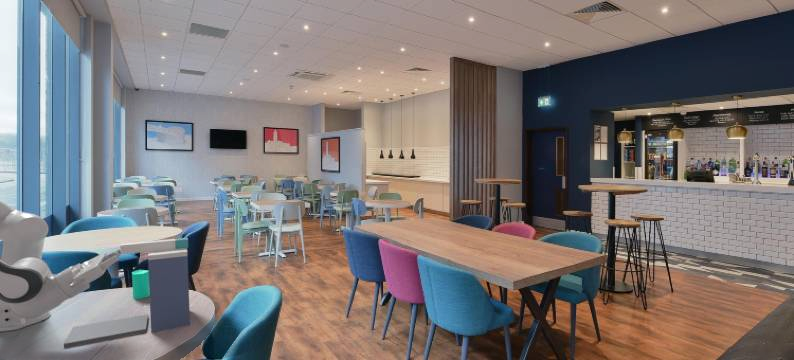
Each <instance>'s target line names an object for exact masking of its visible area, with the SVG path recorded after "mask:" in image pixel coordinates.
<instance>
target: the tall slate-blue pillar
mask: <svg viewBox="0 0 794 360" xmlns="http://www.w3.org/2000/svg"><path fill="white" fill-rule="evenodd" d="M147 253H148V254H147V260H148V261H147V263H148V268H147V269H148V271H149V294H150V296H149V313H150V333H157V332H161V331H167V330H172V329H177V328H182V327H188V326H190V325H191V319H190V318H191V317H190V316H191V315H190V313H191V311H190V292H189V291H190V289H189V287H190V285H189V263H188V261H189V260H188V259H189V258H188V248H180V249H169V250H159V251H149V252H147Z"/></svg>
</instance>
